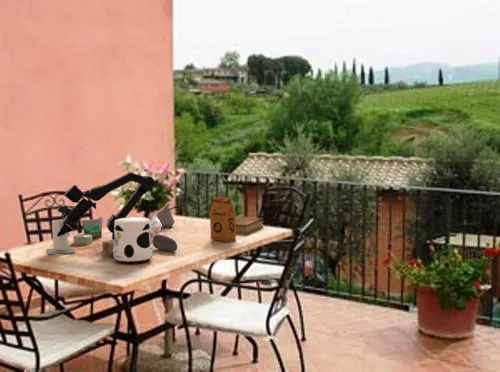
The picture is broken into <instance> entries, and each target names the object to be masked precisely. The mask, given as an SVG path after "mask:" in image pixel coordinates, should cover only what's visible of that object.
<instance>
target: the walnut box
mask: <svg viewBox="0 0 500 372" xmlns="http://www.w3.org/2000/svg"><path fill="white" fill-rule="evenodd" d="M114 241H115V240H112V239H109V240H104V241H102V257H103V258H105V259H110V260H113V259H115V258H114V256H113V246H114Z"/></svg>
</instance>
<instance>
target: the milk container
mask: <svg viewBox="0 0 500 372" xmlns="http://www.w3.org/2000/svg"><path fill="white" fill-rule="evenodd" d="M151 232H152V231H151V221H150V218H147V217H139V216H138V217H136V216H135V217H134V216H133V217H132V216H131V217H126V218H121V219H117V220H115V223H114V236H115V241H114V246H113V256H114V258H113V259H114V260H115V261H117V262H119V263H123V264H135V263H136V264H138V263H143V262H147V261H149V260H150V259H152V257H153V255H154V246H153V241H152V237H151V234H152V233H151Z"/></svg>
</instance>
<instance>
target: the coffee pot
mask: <svg viewBox="0 0 500 372" xmlns="http://www.w3.org/2000/svg"><path fill="white" fill-rule="evenodd" d="M169 206H170V203H168V205H167V206H166V207H165V208H164V209H163V210H162V211H160V212H158V211H157V214H156V216H157V217H158V219H159V220H160V222H161V224H162V227H163V228H162V229H168V228H171V227H172V226H174V224H175V219H174V217H173V214H172V211H171V210H173V209H176V208H179V207H181V206H185V207H186V206H187V203H186V202H185V201H184V202H182V203H179V204H175V205H174V206H173V207H170V208H169Z"/></svg>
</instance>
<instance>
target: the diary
mask: <svg viewBox="0 0 500 372" xmlns="http://www.w3.org/2000/svg"><path fill="white" fill-rule="evenodd" d="M263 221H264V218H263V217H253V216H243V215H242V216H239V215H235V222H236V235H248V234H251V233H253V232H255V230H256V231H258V230H260V229H262V228H264V225H263V224H262V223H263Z"/></svg>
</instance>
